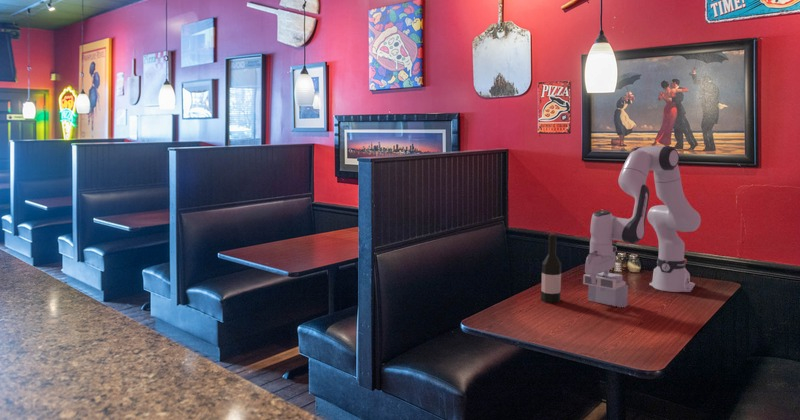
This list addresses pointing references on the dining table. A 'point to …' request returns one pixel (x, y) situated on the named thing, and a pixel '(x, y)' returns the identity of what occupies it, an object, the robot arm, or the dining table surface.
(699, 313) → the dining table surface
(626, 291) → the white block with peg
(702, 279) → the dining table surface
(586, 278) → the white u-shaped bracket
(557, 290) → the wine bottle
